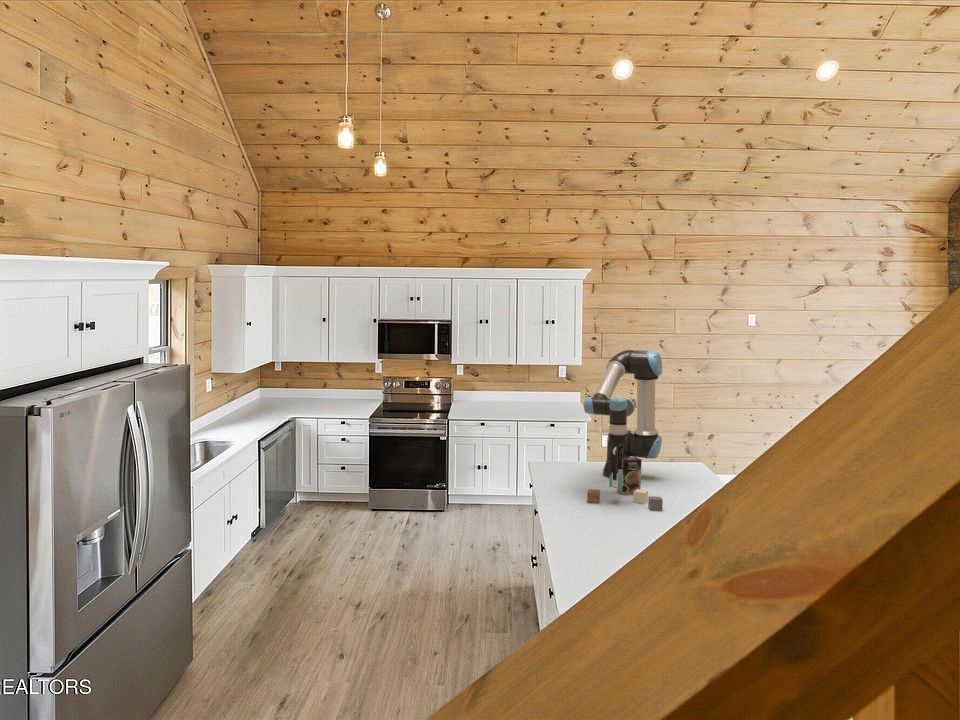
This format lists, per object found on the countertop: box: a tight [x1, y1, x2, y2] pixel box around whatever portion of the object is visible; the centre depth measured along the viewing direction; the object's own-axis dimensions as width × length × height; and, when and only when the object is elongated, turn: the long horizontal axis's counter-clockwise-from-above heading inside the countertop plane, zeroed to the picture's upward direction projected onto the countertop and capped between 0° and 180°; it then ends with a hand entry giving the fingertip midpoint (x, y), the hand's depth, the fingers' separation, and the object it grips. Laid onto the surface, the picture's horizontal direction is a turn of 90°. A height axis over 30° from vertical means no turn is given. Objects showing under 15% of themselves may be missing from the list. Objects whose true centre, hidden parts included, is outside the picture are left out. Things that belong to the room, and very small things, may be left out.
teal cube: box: [608, 474, 623, 489], centre depth 340 cm, size 5×5×5 cm
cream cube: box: [632, 488, 649, 505], centre depth 341 cm, size 5×5×5 cm
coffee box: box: [616, 456, 643, 495], centre depth 357 cm, size 9×6×16 cm
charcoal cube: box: [647, 495, 664, 512], centre depth 330 cm, size 5×5×5 cm
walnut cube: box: [586, 488, 601, 505], centre depth 340 cm, size 5×5×5 cm
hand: (616, 485), depth 340 cm, fingers closed on teal cube, 5 cm apart
